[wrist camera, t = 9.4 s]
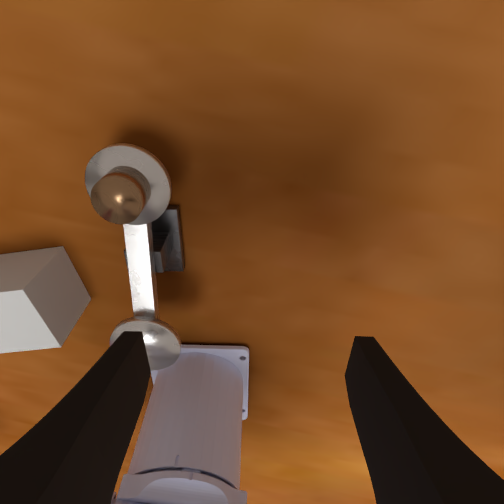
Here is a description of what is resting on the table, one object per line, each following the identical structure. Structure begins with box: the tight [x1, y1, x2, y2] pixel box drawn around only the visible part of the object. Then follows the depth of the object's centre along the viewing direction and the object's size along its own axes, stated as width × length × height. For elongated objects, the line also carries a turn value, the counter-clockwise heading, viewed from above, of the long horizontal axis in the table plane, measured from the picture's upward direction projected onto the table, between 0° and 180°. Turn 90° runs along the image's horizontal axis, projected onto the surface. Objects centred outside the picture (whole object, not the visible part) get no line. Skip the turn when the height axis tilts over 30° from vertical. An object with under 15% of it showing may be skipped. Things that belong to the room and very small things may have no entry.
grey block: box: [0, 246, 91, 353], centre depth 21 cm, size 4×4×4 cm
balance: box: [85, 143, 185, 370], centre depth 19 cm, size 13×4×5 cm, turn 179°
